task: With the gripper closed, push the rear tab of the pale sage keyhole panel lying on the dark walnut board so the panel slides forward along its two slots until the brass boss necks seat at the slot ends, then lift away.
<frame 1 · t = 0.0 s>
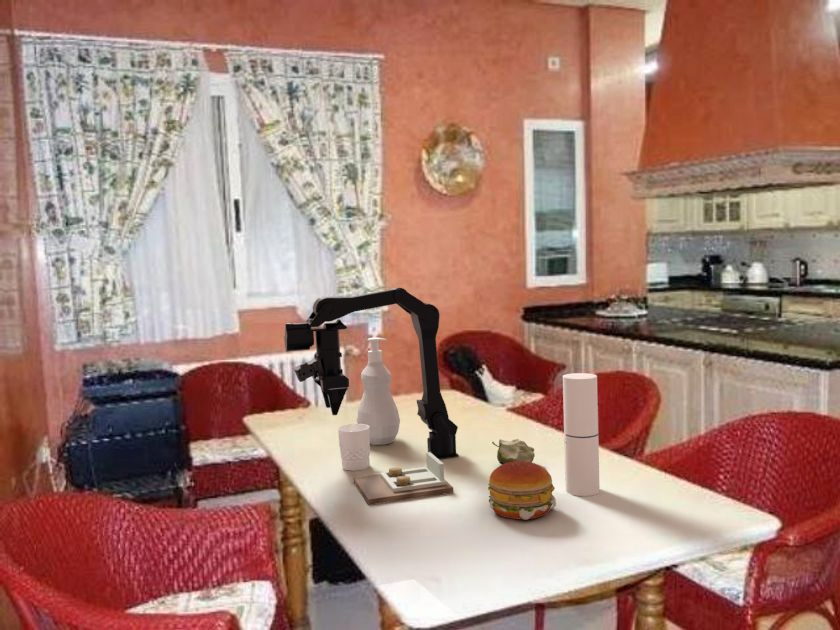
hand: (331, 411, 175), 15 cm above the table, fingers open, 9 cm apart
burger: (522, 512, 143), on the table
white cup: (356, 467, 178), on the table
panel: (411, 470, 161), point 4 cm above the table, slide at 0.0 cm
soap bottle: (379, 442, 201), on the table
cylindrical container: (582, 491, 154), on the table
fruit: (514, 467, 173), on the table
board: (402, 487, 161), on the table
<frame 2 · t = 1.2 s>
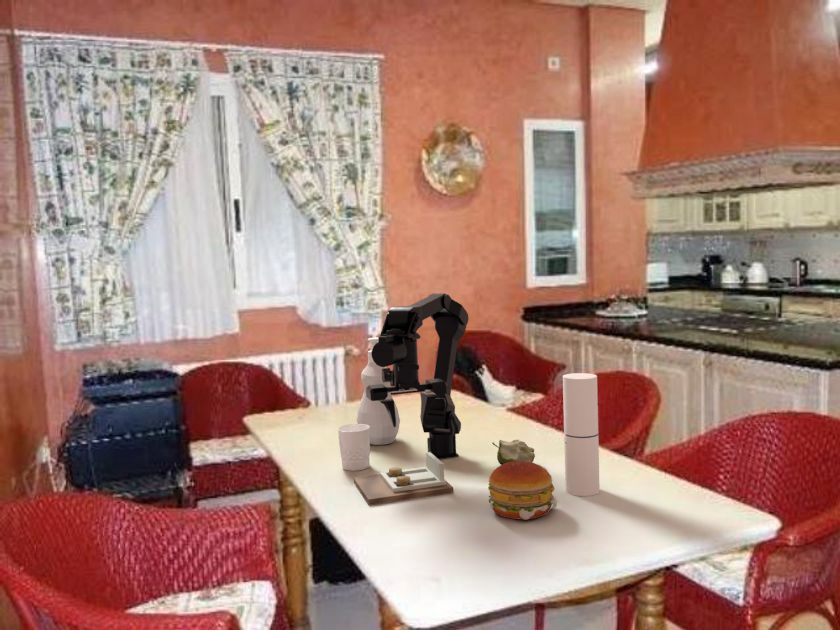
hand: (408, 425, 169), 12 cm above the table, fingers open, 7 cm apart
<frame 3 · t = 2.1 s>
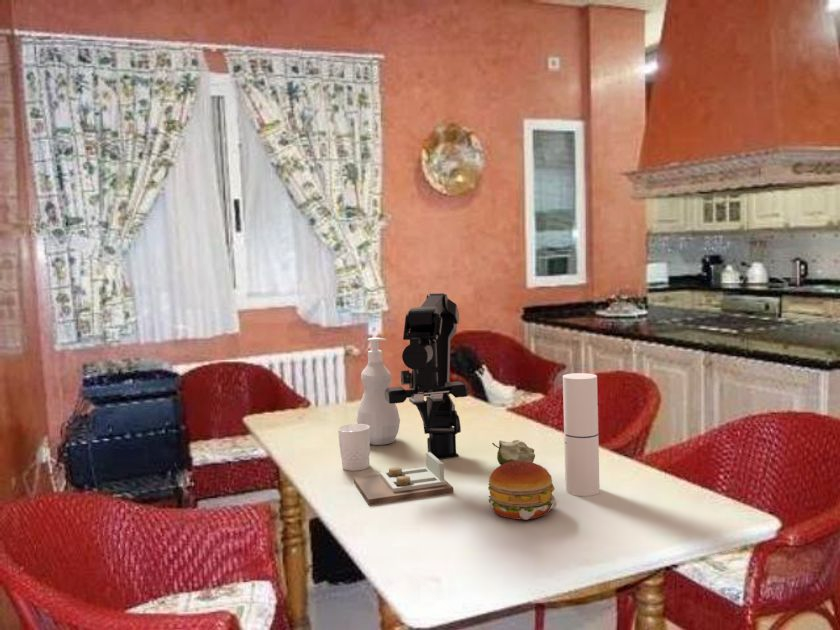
hand: (427, 428, 166), 12 cm above the table, fingers closed
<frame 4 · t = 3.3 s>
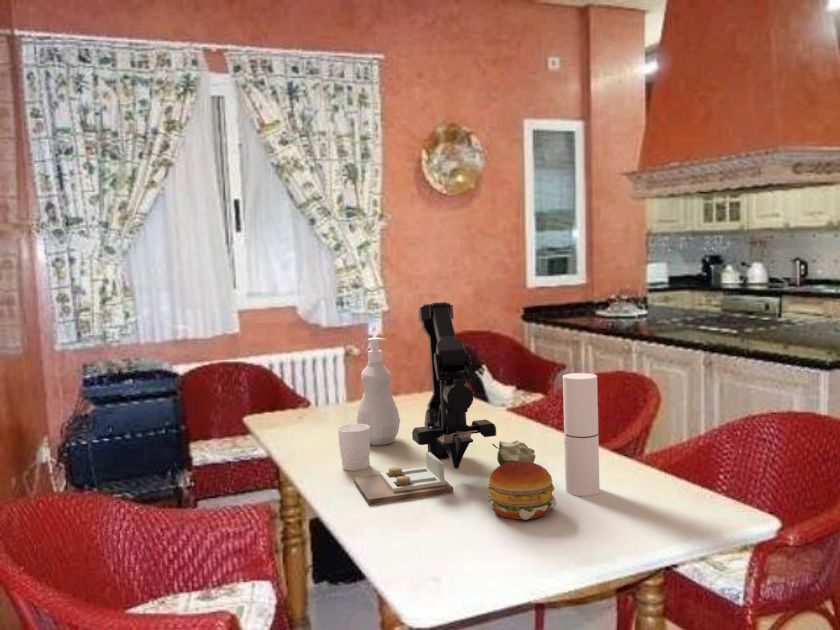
hand: (455, 468, 164), 3 cm above the table, fingers closed
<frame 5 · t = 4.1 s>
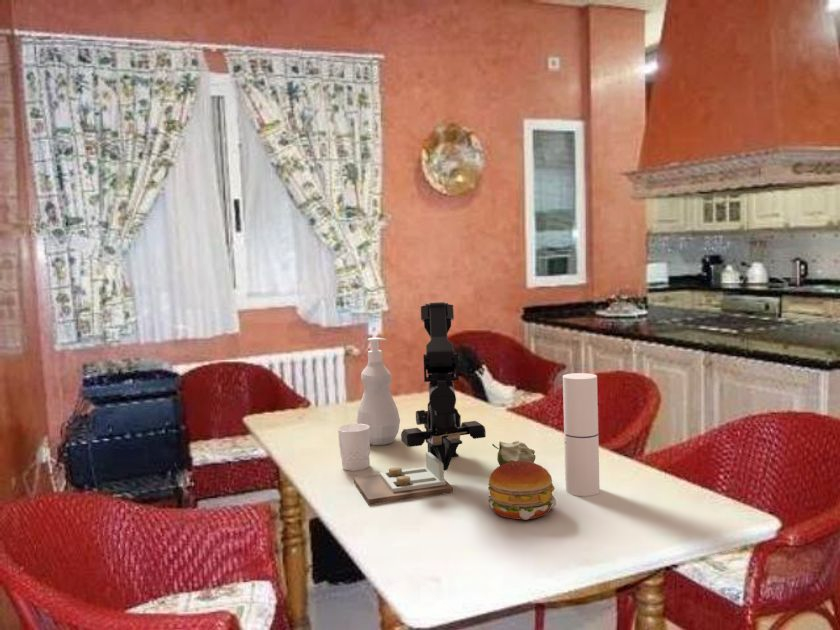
hand: (444, 470, 163), 3 cm above the table, fingers closed
panel: (411, 470, 161), point 4 cm above the table, slide at 0.1 cm, touching gripper
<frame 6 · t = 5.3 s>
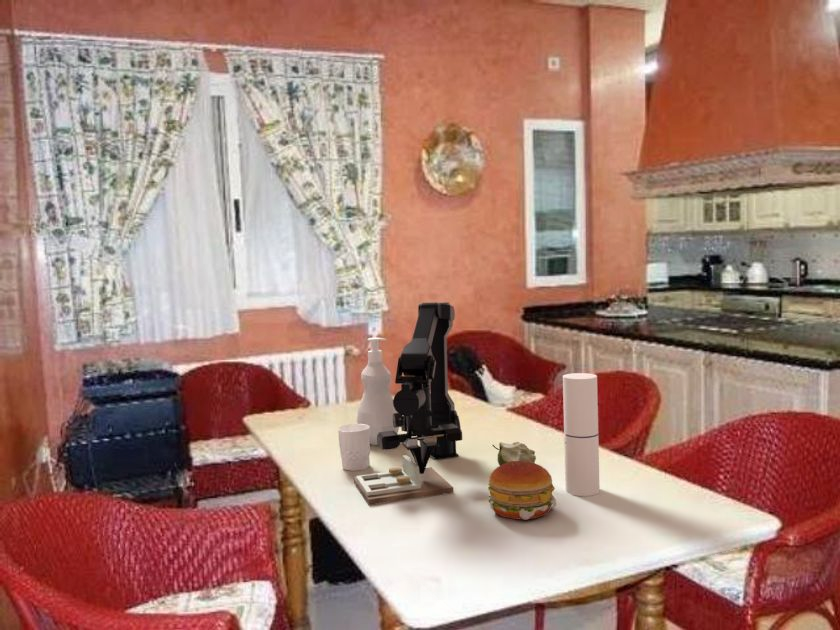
hand: (421, 473, 162), 3 cm above the table, fingers closed
panel: (387, 474, 159), point 4 cm above the table, slide at 5.8 cm, touching gripper
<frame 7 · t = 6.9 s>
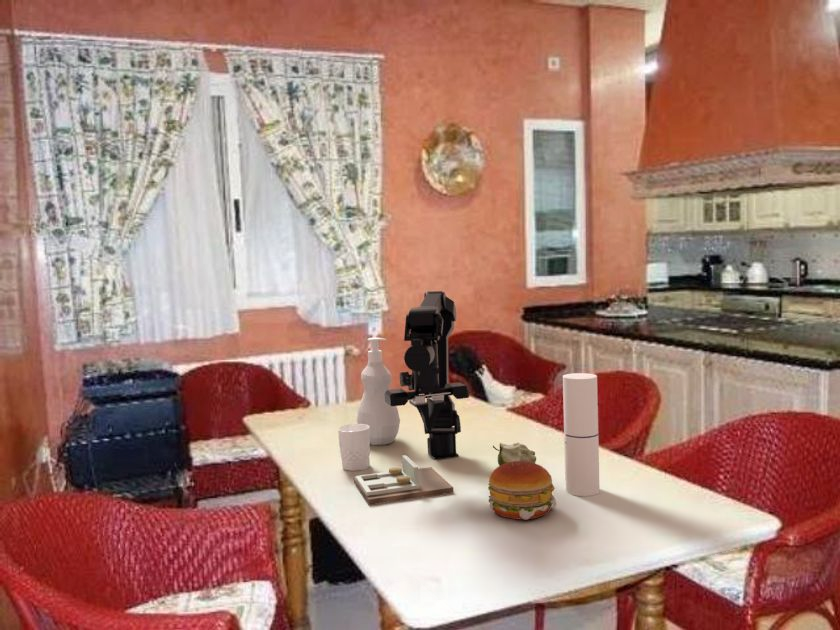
hand: (428, 430, 163), 12 cm above the table, fingers closed
panel: (386, 474, 159), point 4 cm above the table, slide at 5.9 cm
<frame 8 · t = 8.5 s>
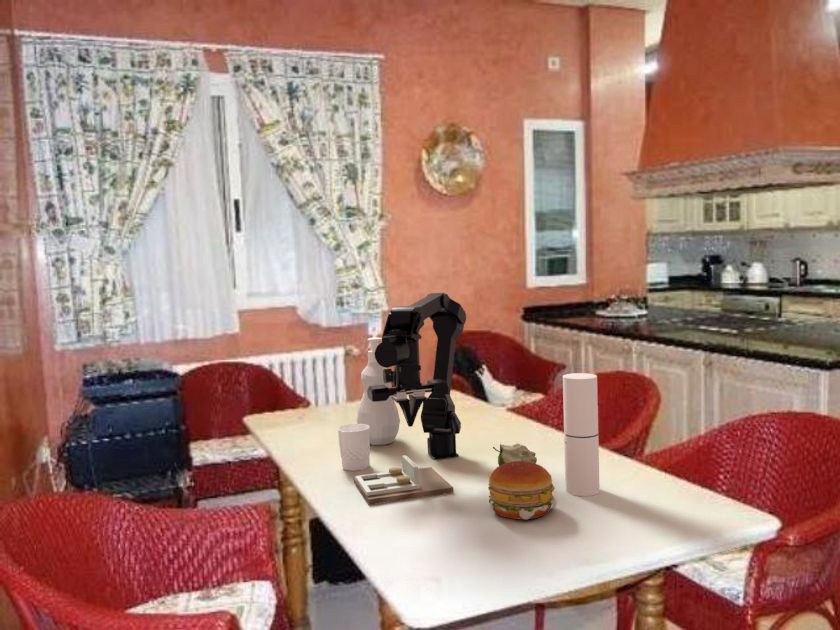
hand: (410, 426, 168), 12 cm above the table, fingers closed
at the end: panel slide at 5.9 cm; the gripper is holding nothing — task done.
